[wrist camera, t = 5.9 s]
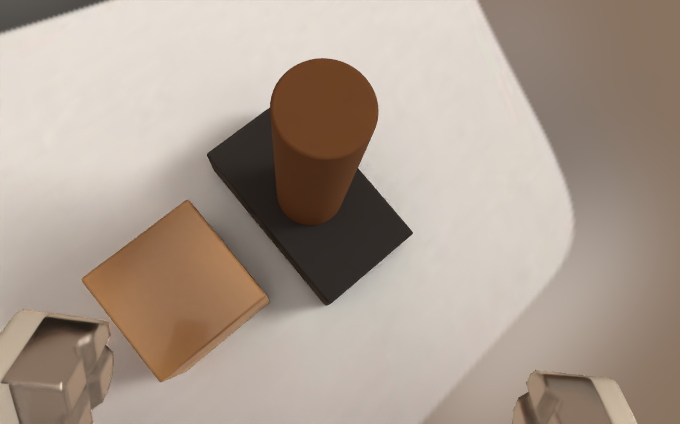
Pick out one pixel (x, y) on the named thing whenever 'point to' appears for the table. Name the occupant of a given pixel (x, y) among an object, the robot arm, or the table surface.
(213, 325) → the cork block
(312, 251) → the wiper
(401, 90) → the table surface
